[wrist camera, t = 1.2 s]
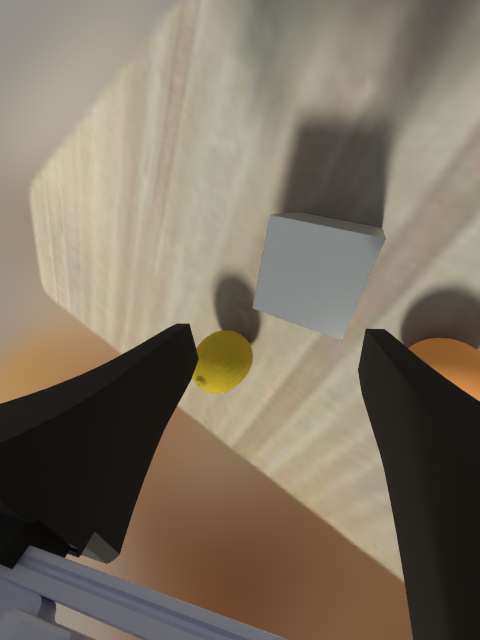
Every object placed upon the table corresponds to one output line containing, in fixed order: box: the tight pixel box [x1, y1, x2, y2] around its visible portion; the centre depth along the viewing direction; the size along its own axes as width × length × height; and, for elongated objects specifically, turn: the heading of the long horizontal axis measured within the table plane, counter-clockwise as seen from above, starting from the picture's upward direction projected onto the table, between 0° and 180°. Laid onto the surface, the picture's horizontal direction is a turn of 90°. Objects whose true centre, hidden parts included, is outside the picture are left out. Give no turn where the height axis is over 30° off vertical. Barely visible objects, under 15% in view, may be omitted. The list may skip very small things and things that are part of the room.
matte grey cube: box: [252, 212, 386, 340], centre depth 16 cm, size 6×6×7 cm
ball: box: [408, 338, 480, 401], centre depth 16 cm, size 5×5×5 cm
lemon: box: [192, 330, 253, 394], centre depth 23 cm, size 6×6×8 cm
